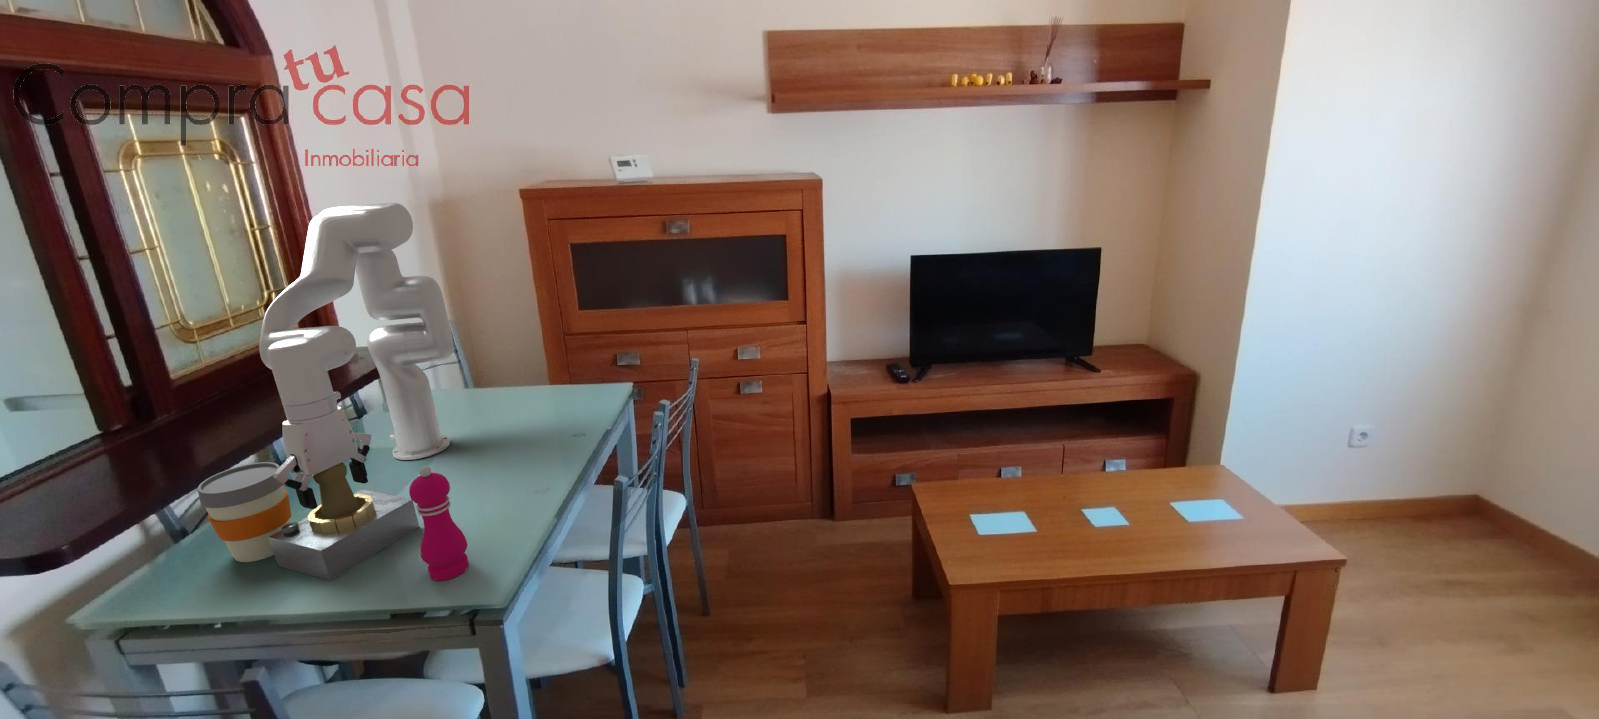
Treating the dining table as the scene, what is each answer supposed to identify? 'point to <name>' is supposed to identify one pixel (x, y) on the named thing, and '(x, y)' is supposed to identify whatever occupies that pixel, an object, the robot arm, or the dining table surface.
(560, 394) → the dining table surface
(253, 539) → the reusable coffee cup
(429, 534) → the pepper mill
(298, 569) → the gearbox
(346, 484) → the cork
